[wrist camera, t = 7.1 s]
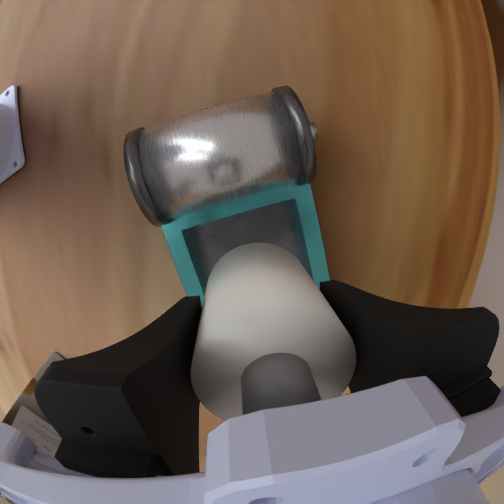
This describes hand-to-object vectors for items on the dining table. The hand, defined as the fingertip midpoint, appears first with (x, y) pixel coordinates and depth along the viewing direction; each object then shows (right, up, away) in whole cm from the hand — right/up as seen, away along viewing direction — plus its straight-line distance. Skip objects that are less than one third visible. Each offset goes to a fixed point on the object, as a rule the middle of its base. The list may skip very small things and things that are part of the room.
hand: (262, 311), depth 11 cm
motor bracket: (-1, +5, +7) cm, 9 cm away
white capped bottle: (0, +1, +2) cm, 2 cm away
